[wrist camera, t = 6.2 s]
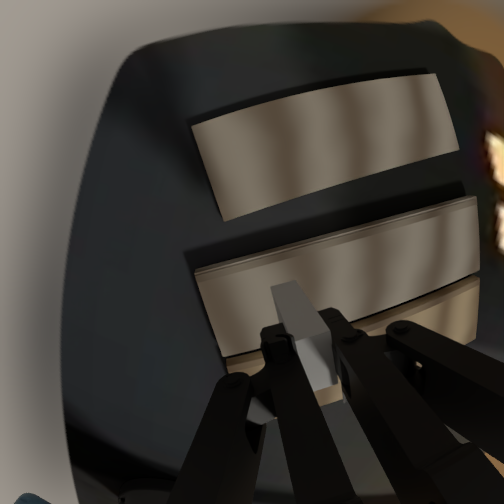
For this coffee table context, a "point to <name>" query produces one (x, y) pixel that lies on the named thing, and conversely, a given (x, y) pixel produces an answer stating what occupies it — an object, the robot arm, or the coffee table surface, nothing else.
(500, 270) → the coffee table surface
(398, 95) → the plank
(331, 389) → the laid board
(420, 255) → the board
